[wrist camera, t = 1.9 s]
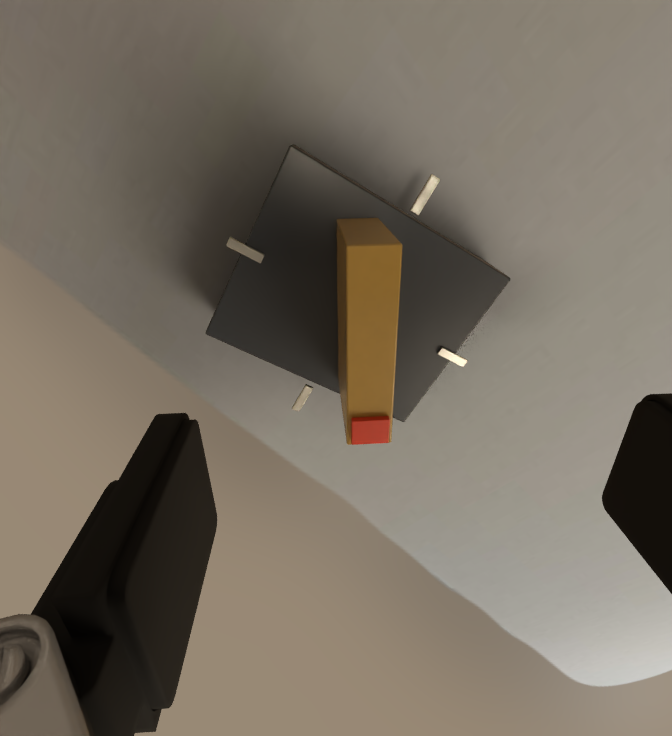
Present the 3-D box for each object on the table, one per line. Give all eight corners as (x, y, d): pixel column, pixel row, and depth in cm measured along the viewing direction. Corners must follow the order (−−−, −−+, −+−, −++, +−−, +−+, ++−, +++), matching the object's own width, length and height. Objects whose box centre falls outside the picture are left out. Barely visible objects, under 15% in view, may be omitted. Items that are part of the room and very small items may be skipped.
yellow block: (336, 218, 16) (346, 247, 12) (378, 217, 16) (405, 245, 12) (338, 382, 19) (347, 449, 15) (374, 380, 19) (392, 447, 15)
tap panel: (191, 335, 20) (176, 360, 18) (297, 92, 16) (295, 84, 14) (388, 421, 24) (397, 453, 21) (521, 238, 19) (551, 252, 17)
